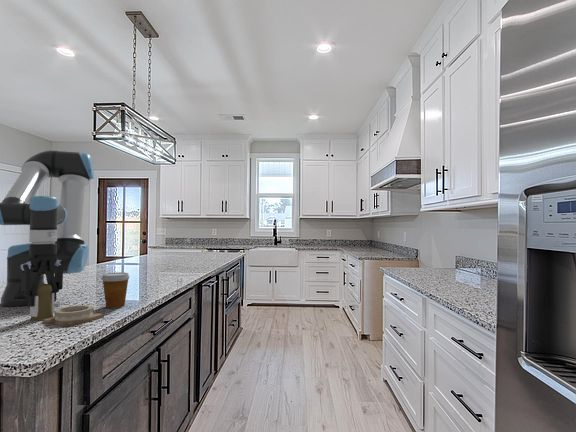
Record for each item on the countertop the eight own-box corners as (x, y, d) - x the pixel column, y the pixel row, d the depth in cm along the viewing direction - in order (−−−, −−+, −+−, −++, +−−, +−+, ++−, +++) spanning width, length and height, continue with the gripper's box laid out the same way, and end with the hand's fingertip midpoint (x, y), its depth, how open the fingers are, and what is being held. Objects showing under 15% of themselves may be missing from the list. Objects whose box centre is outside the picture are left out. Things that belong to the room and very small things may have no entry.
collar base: (42, 322, 109) (42, 311, 109) (77, 313, 120) (77, 303, 120) (69, 326, 104) (69, 315, 104) (103, 316, 116) (104, 306, 116)
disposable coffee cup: (100, 310, 124) (101, 276, 125) (101, 304, 133) (101, 273, 133) (130, 307, 129) (130, 274, 129) (128, 302, 137) (129, 271, 138)
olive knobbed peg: (57, 315, 117) (58, 282, 117) (43, 320, 111) (44, 286, 111) (41, 315, 118) (41, 282, 118) (26, 320, 112) (26, 285, 112)
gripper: (22, 244, 106) (21, 322, 105) (76, 241, 122) (75, 309, 121) (6, 244, 108) (5, 320, 108) (61, 241, 125) (60, 307, 124)
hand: (42, 314), depth 115 cm, fingers open, 4 cm apart
